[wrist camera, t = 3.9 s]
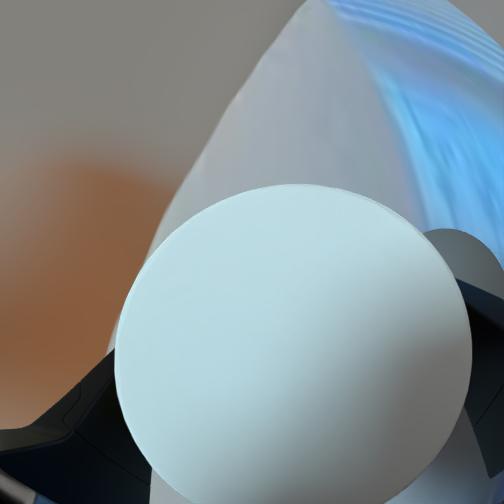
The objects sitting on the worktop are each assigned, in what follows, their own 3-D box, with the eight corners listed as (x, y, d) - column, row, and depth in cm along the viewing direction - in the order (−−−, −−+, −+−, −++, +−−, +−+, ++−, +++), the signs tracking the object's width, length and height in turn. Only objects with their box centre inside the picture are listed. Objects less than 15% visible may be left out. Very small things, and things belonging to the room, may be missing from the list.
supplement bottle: (332, 416, 14) (404, 584, 2) (218, 380, 15) (36, 457, 3) (370, 301, 15) (535, 202, 3) (256, 268, 17) (159, 100, 4)
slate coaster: (507, 246, 14) (511, 244, 14) (494, 395, 12) (498, 396, 11) (384, 218, 16) (386, 214, 16) (358, 390, 14) (360, 392, 13)
